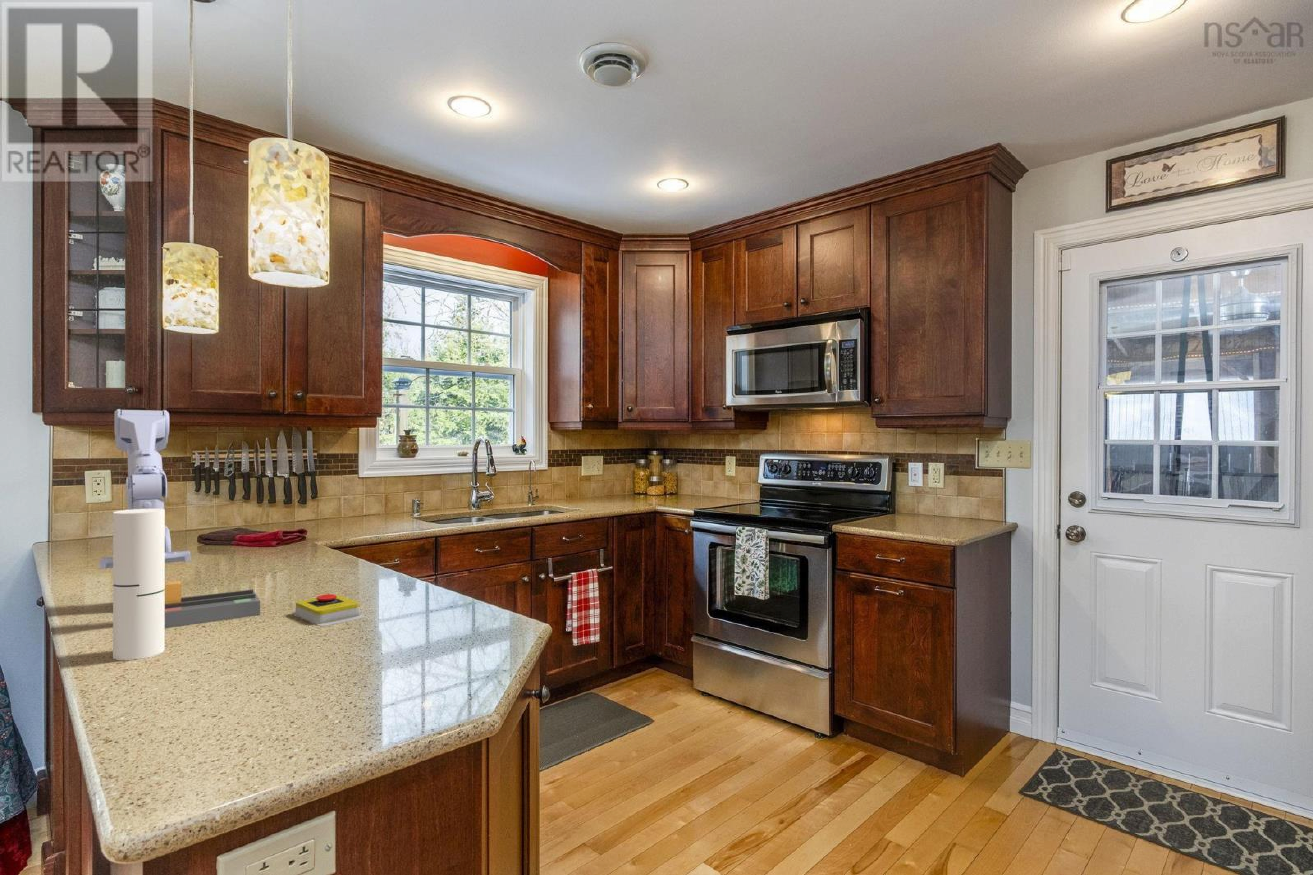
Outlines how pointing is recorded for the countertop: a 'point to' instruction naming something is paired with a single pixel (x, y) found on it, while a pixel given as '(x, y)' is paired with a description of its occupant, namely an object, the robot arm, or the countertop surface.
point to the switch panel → (212, 608)
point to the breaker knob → (172, 592)
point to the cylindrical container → (138, 583)
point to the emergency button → (328, 610)
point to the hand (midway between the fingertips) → (146, 600)
